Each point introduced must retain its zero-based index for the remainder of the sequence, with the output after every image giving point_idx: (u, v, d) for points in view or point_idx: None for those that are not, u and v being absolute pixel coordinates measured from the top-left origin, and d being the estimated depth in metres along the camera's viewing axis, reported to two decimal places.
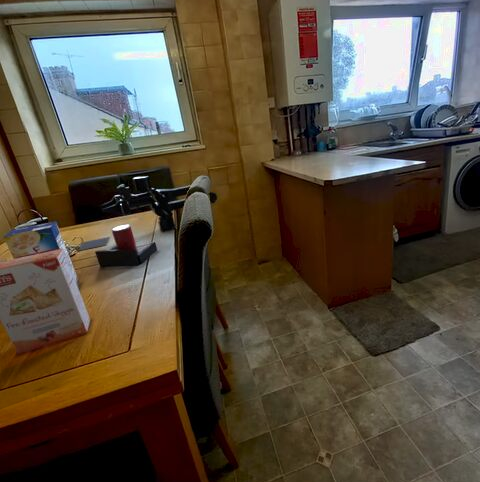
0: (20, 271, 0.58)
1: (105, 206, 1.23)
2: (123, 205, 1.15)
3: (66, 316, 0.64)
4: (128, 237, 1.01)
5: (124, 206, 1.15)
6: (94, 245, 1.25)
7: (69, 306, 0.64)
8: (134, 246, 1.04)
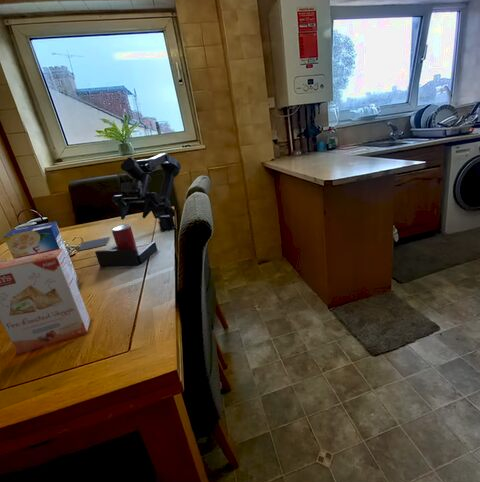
0: (20, 271, 0.58)
1: (123, 214, 1.11)
2: (156, 198, 1.10)
3: (66, 316, 0.64)
4: (128, 237, 1.01)
5: (157, 198, 1.11)
6: (94, 245, 1.25)
7: (69, 306, 0.64)
8: (134, 246, 1.04)
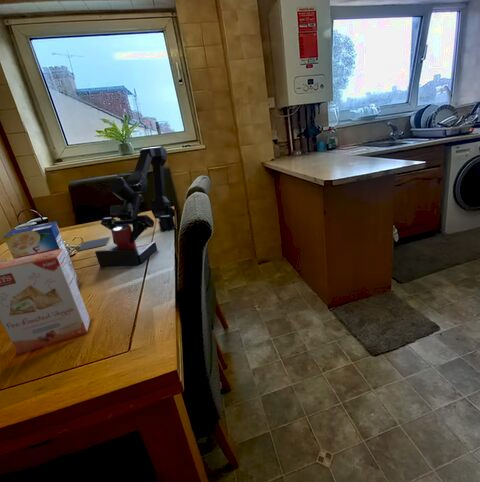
0: (20, 271, 0.58)
1: None
2: (148, 221, 1.03)
3: (66, 316, 0.64)
4: (128, 237, 1.01)
5: (149, 221, 1.04)
6: (94, 245, 1.25)
7: (69, 306, 0.64)
8: (134, 246, 1.04)
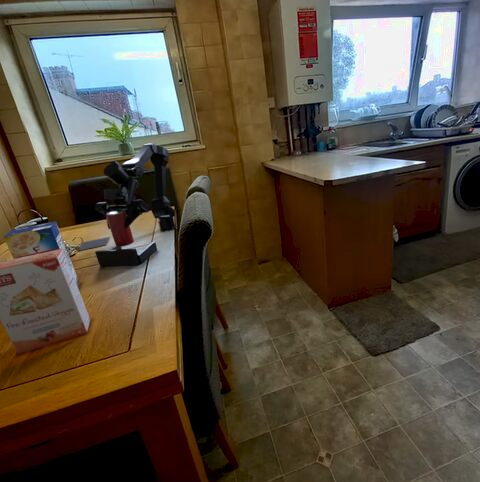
0: (20, 271, 0.58)
1: None
2: (143, 205, 1.01)
3: (66, 316, 0.64)
4: (122, 222, 0.99)
5: (144, 205, 1.02)
6: (94, 245, 1.25)
7: (69, 306, 0.64)
8: (129, 231, 1.02)
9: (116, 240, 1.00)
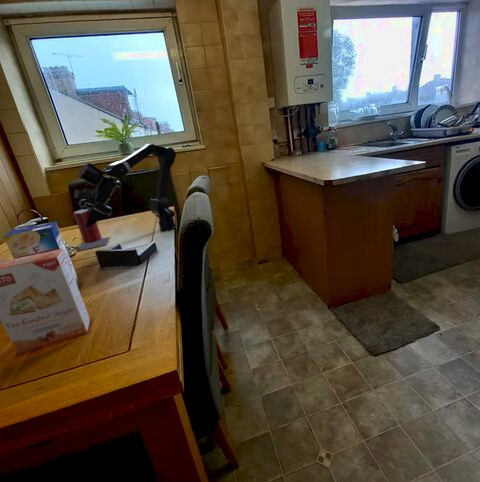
0: (20, 271, 0.58)
1: None
2: (100, 208, 1.04)
3: (66, 316, 0.64)
4: (84, 221, 1.06)
5: (102, 208, 1.04)
6: (94, 245, 1.25)
7: (69, 306, 0.64)
8: (92, 230, 1.08)
9: (82, 236, 1.09)
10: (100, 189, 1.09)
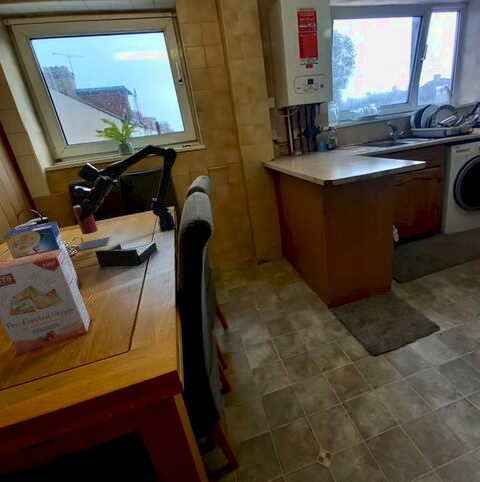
0: (20, 271, 0.58)
1: None
2: (84, 207, 1.13)
3: (66, 316, 0.64)
4: (78, 215, 1.19)
5: (85, 207, 1.14)
6: (94, 245, 1.25)
7: (69, 306, 0.64)
8: (85, 224, 1.21)
9: None
10: (95, 188, 1.19)
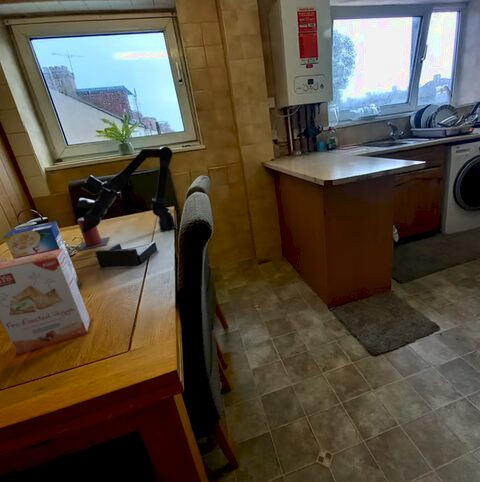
0: (20, 271, 0.58)
1: None
2: (88, 219, 1.15)
3: (66, 316, 0.64)
4: (82, 228, 1.21)
5: (89, 219, 1.15)
6: (94, 245, 1.25)
7: (69, 306, 0.64)
8: (89, 236, 1.23)
9: None
10: (99, 199, 1.21)
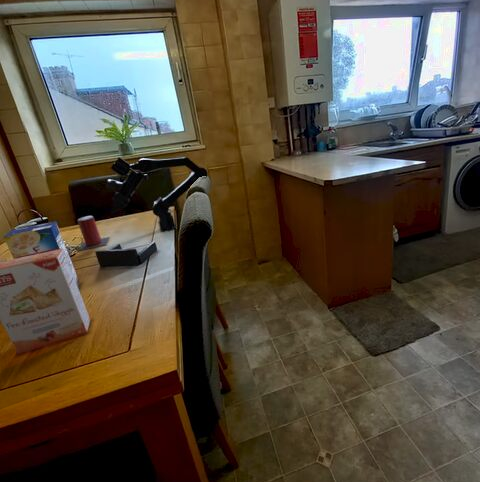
0: (20, 271, 0.58)
1: None
2: (117, 199, 1.17)
3: (66, 316, 0.64)
4: (82, 228, 1.21)
5: (118, 199, 1.17)
6: (94, 245, 1.25)
7: (69, 306, 0.64)
8: (89, 236, 1.23)
9: None
10: (126, 181, 1.23)
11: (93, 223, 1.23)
